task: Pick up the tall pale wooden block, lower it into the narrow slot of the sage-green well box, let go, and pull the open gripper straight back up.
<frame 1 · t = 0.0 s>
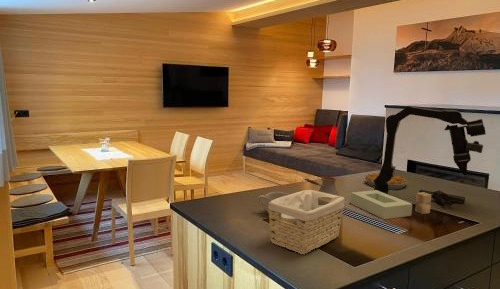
hand: (465, 173, 161), 15 cm above the worktop, tool pointing down, fingers open, 9 cm apart
storage basket: (305, 241, 124), on the worktop
wooden block: (422, 212, 155), on the worktop
well box: (379, 209, 158), on the worktop
teacup: (274, 214, 150), on the worktop
black irregular piece: (444, 205, 166), on the worktop
coffee pot: (319, 209, 157), on the worktop
pie: (385, 185, 200), on the worktop
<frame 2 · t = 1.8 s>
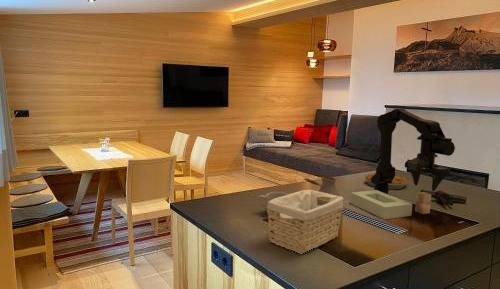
hand: (424, 188, 154), 10 cm above the worktop, tool pointing down, fingers open, 9 cm apart
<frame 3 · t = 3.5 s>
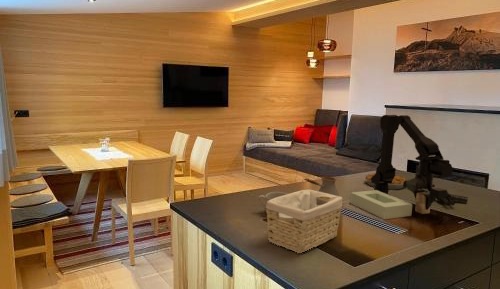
hand: (422, 207, 155), 2 cm above the worktop, tool pointing down, fingers closed on wooden block, 4 cm apart
wooden block: (422, 212, 155), on the worktop, touching gripper
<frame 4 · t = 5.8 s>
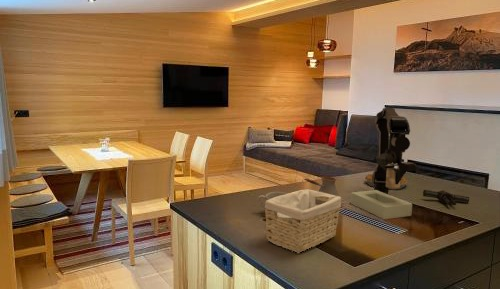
hand: (392, 183, 156), 12 cm above the worktop, tool pointing down, fingers closed on wooden block, 4 cm apart
wooden block: (392, 187, 156), point 10 cm above the worktop, touching gripper
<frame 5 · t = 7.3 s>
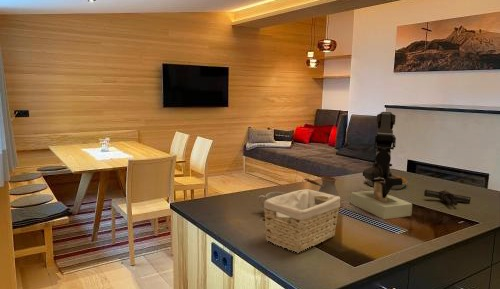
hand: (380, 196, 158), 6 cm above the worktop, tool pointing down, fingers closed on wooden block, 4 cm apart
wooden block: (380, 200, 158), point 4 cm above the worktop, touching gripper
when the fingers open (5 cm above the worktop, at t = 8.2 s): wooden block drops 2 cm, resting on well box.
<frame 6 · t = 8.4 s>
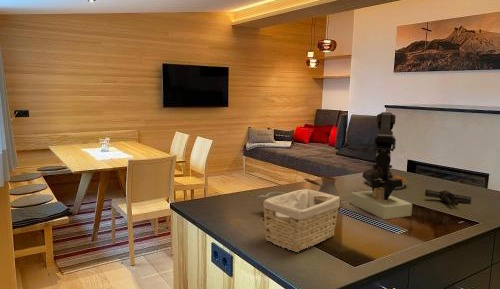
hand: (380, 197, 158), 5 cm above the worktop, tool pointing down, fingers open, 6 cm apart
wooden block: (379, 206, 158), point 1 cm above the worktop, touching well box
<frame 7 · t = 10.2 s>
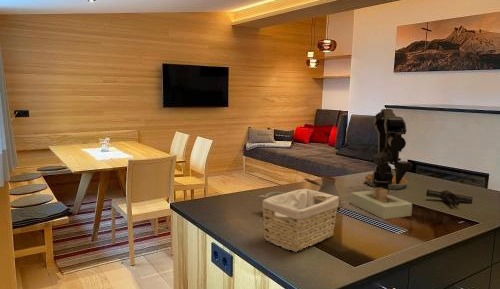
hand: (389, 181, 160), 12 cm above the worktop, tool pointing down, fingers open, 9 cm apart
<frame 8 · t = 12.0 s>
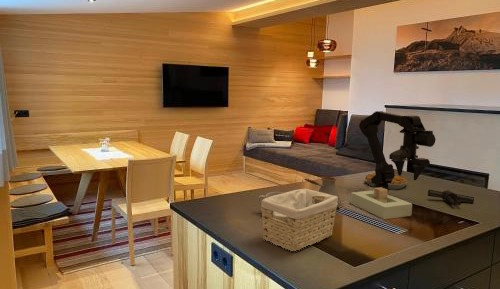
hand: (407, 177, 165), 12 cm above the worktop, tool pointing down, fingers open, 9 cm apart
at the end: wooden block inside the target area on the well box (0.0 cm from its centre), point 1.0 cm above the well box's base; wooden block tilted 0°; the gripper is holding nothing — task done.
